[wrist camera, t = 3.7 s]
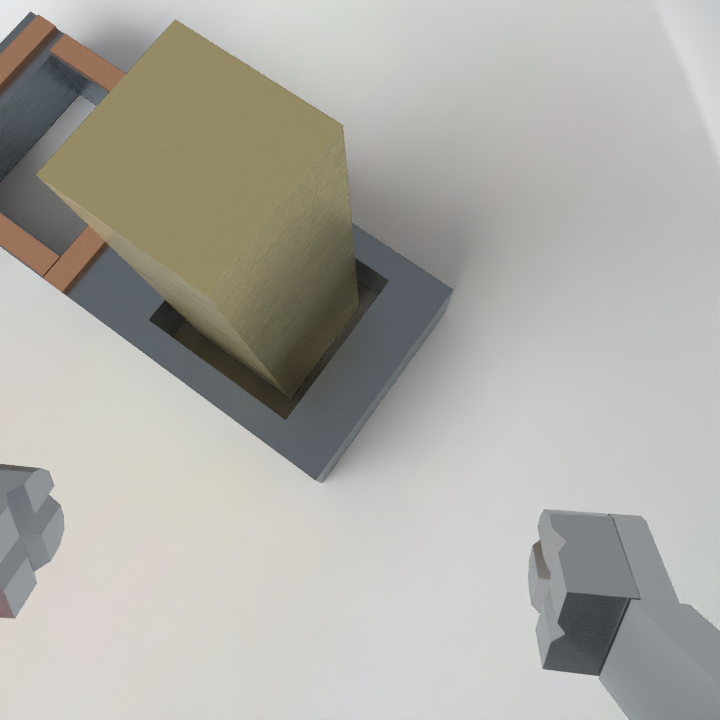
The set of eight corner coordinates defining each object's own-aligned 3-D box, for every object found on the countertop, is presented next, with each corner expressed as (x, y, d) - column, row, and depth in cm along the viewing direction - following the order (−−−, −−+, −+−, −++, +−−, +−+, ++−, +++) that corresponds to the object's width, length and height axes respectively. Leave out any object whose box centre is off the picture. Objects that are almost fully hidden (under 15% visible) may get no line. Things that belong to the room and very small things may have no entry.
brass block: (359, 307, 24) (343, 125, 13) (290, 398, 24) (206, 295, 12) (269, 245, 25) (175, 19, 13) (200, 333, 24) (35, 174, 13)
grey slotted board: (446, 310, 24) (454, 287, 22) (322, 482, 23) (315, 480, 20) (60, 53, 27) (27, 7, 25) (-69, 193, 26) (-118, 159, 23)
